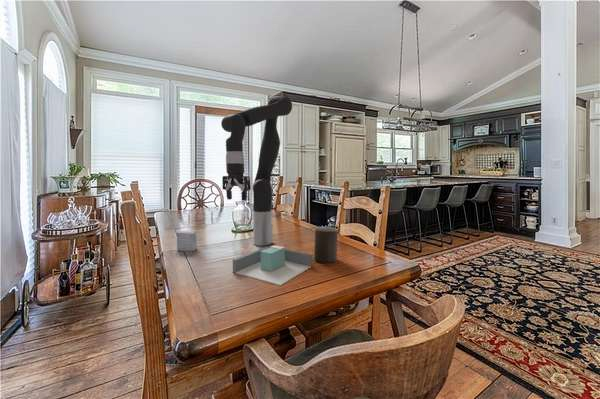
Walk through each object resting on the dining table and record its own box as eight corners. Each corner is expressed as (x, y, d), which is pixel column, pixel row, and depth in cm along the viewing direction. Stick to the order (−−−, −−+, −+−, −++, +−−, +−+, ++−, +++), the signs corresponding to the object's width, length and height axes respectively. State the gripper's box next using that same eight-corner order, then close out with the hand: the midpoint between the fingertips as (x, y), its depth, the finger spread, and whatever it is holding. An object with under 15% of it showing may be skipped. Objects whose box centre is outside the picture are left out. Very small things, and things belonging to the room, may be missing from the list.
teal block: (260, 268, 108) (260, 250, 107) (274, 262, 116) (274, 245, 115) (270, 271, 105) (270, 252, 104) (284, 264, 113) (284, 247, 112)
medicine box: (197, 248, 135) (196, 231, 134) (193, 251, 131) (192, 233, 130) (181, 248, 136) (181, 230, 135) (176, 251, 132) (176, 232, 131)
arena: (269, 256, 124) (268, 245, 124) (312, 266, 113) (312, 254, 112) (232, 272, 106) (232, 259, 105) (280, 285, 94) (280, 271, 93)
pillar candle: (321, 265, 114) (323, 229, 112) (310, 258, 123) (311, 224, 121) (341, 261, 119) (342, 227, 117) (328, 255, 127) (329, 222, 125)
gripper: (216, 162, 121) (218, 200, 123) (241, 162, 114) (243, 201, 116) (229, 162, 127) (231, 198, 129) (253, 162, 120) (255, 199, 122)
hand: (236, 199), depth 122 cm, fingers open, 8 cm apart
